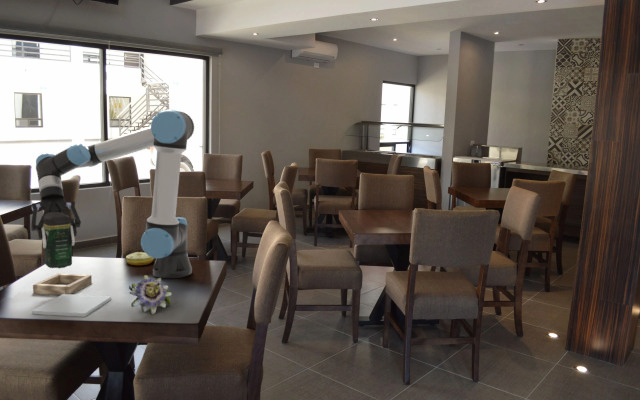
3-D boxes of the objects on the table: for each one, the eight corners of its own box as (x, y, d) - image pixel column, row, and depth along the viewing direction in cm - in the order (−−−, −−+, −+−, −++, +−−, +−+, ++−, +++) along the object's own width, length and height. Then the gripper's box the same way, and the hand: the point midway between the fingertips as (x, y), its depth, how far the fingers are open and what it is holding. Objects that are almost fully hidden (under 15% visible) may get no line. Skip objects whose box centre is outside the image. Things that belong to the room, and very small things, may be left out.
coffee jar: (75, 266, 179) (73, 213, 176) (50, 270, 174) (47, 216, 171) (67, 260, 186) (64, 209, 183) (42, 264, 181) (40, 211, 178)
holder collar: (91, 282, 194) (91, 275, 193) (69, 295, 179) (69, 286, 179) (58, 281, 195) (58, 273, 194) (33, 293, 180) (32, 284, 180)
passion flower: (153, 332, 164) (133, 305, 156) (134, 315, 172) (114, 289, 164) (184, 304, 170) (166, 277, 162) (164, 289, 178) (146, 263, 169)
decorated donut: (153, 259, 233) (152, 250, 233) (154, 265, 222) (154, 256, 222) (126, 260, 229) (125, 251, 228) (126, 267, 218) (126, 257, 218)
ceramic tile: (111, 299, 176) (111, 296, 176) (84, 316, 159) (84, 313, 159) (63, 296, 177) (63, 294, 177) (31, 313, 160) (31, 310, 160)
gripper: (81, 196, 195) (91, 247, 184) (17, 199, 183) (23, 253, 173) (83, 183, 190) (93, 235, 179) (18, 186, 178) (24, 241, 167)
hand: (59, 244), depth 176 cm, fingers closed on coffee jar, 8 cm apart
